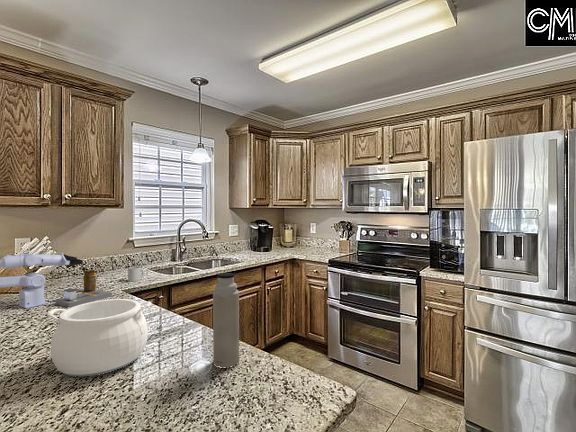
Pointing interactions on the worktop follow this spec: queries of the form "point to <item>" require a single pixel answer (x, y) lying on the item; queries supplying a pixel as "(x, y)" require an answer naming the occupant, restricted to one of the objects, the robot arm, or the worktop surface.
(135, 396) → the worktop surface
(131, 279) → the cup
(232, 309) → the thermos bottle
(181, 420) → the worktop surface
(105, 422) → the worktop surface
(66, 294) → the fader tab
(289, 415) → the worktop surface
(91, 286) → the condiment
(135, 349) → the pot
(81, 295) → the console board
